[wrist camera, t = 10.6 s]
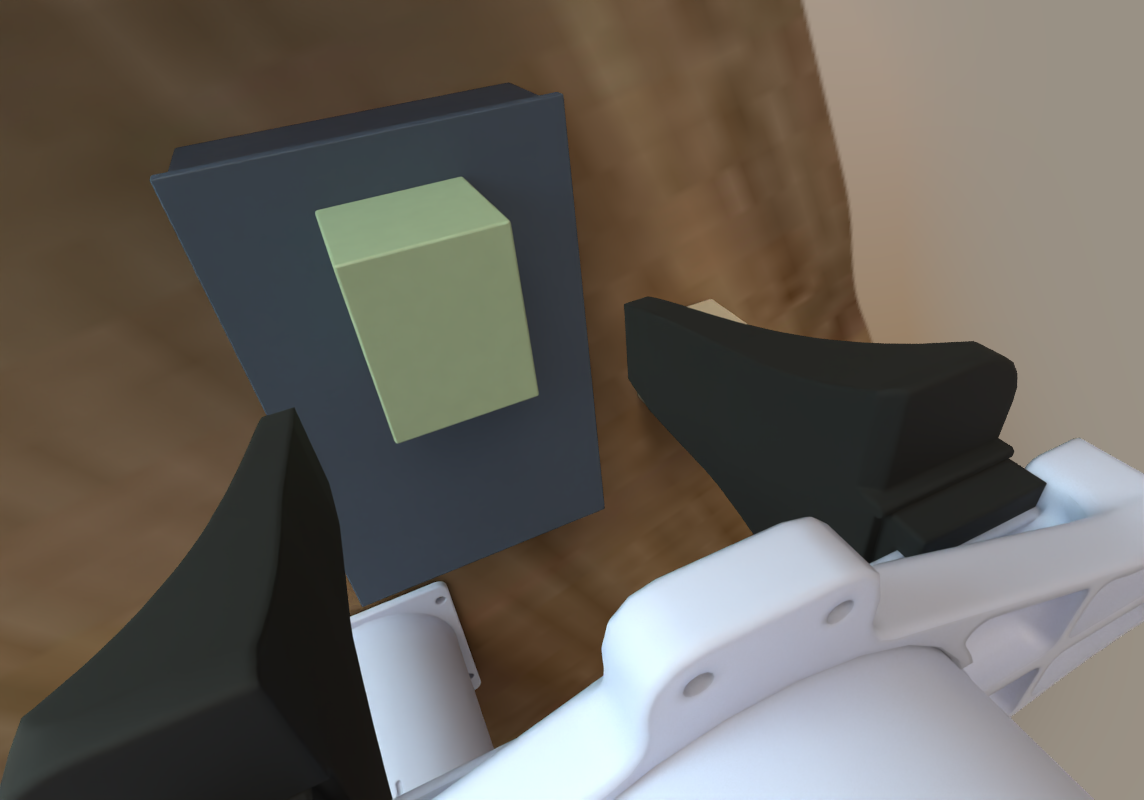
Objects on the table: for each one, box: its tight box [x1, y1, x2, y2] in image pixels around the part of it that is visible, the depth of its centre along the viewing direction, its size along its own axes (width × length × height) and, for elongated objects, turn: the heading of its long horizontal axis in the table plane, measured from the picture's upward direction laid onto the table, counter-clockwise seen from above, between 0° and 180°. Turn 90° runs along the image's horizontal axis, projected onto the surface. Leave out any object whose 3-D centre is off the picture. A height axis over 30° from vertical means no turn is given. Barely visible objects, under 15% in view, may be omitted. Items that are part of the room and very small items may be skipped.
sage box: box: [315, 177, 539, 444], centre depth 17 cm, size 5×4×4 cm
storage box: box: [150, 83, 605, 607], centre depth 22 cm, size 16×10×4 cm, turn 7°
